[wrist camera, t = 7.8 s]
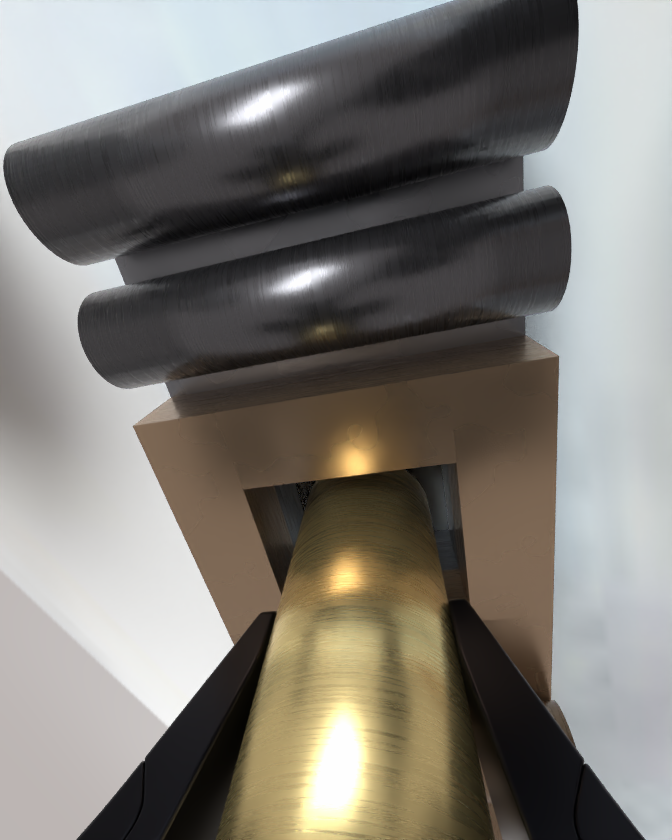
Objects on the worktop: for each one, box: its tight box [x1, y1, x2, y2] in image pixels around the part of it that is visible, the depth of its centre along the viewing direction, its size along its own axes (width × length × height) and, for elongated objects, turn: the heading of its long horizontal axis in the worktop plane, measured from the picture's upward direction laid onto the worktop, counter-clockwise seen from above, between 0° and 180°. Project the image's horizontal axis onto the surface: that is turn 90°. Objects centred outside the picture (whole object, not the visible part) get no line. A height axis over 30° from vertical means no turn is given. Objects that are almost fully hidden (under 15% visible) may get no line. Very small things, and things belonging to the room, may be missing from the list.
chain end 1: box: [3, 0, 579, 570], centre depth 11 cm, size 10×16×4 cm, turn 12°
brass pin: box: [216, 469, 495, 840], centre depth 8 cm, size 4×4×10 cm
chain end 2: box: [133, 335, 576, 840], centre depth 13 cm, size 10×16×6 cm, turn 12°
